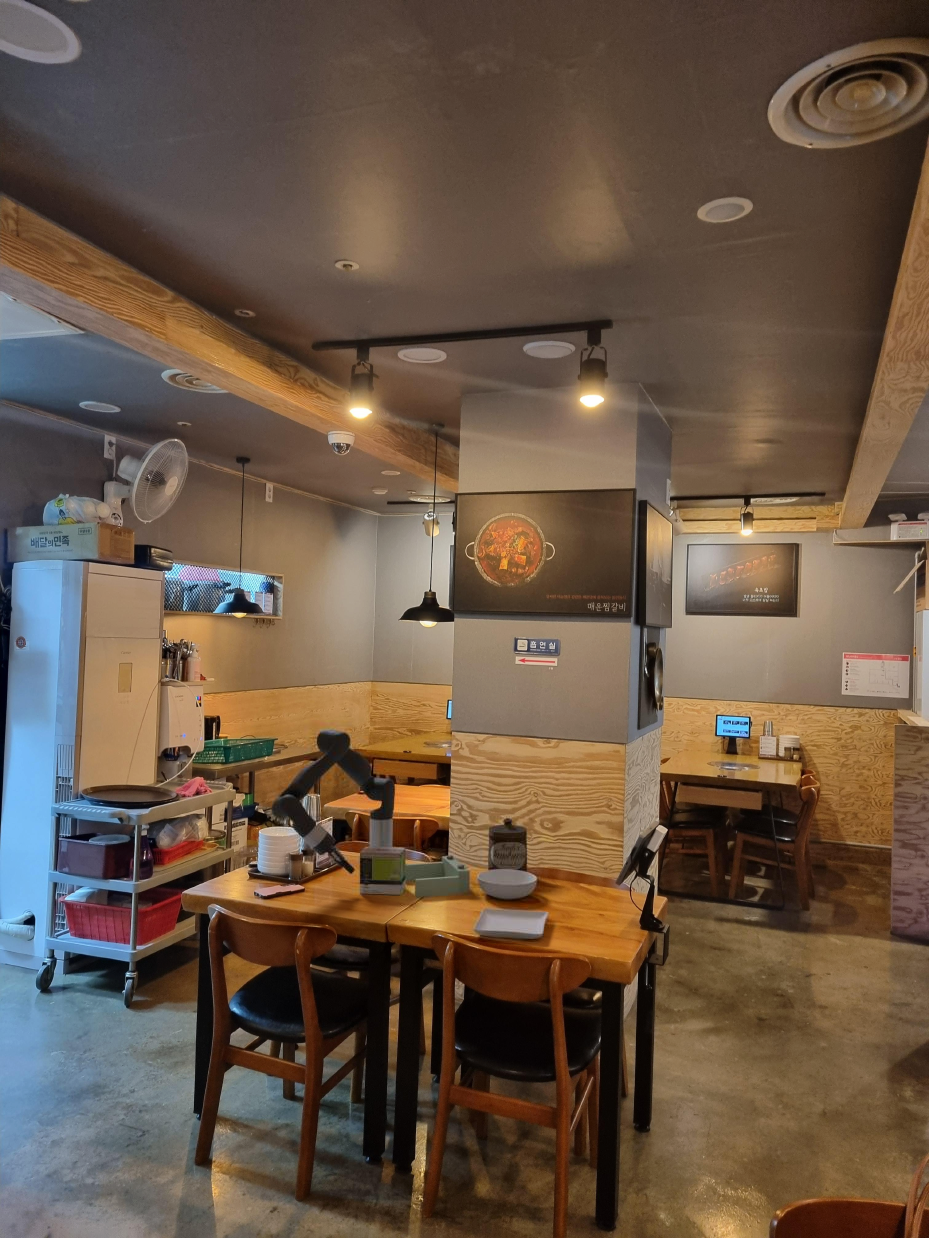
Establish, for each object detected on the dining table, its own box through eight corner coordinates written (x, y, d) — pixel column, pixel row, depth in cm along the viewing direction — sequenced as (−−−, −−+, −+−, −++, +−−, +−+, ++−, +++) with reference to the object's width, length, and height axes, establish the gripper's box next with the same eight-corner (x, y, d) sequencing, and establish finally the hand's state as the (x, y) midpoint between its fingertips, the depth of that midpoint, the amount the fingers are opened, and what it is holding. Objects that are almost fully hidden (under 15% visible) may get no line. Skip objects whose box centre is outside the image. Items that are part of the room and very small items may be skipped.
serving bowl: (533, 906, 286) (533, 886, 287) (472, 902, 290) (472, 882, 291) (540, 889, 307) (540, 870, 307) (483, 885, 311) (483, 866, 311)
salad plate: (472, 939, 254) (472, 928, 254) (483, 917, 275) (483, 906, 275) (542, 945, 251) (542, 933, 251) (548, 922, 271) (548, 911, 272)
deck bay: (401, 880, 316) (401, 856, 316) (451, 877, 322) (452, 853, 322) (415, 897, 295) (416, 871, 295) (469, 893, 301) (469, 867, 301)
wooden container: (490, 881, 316) (491, 822, 317) (486, 871, 331) (486, 814, 332) (529, 881, 317) (530, 822, 318) (523, 870, 332) (524, 814, 333)
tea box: (405, 887, 307) (406, 846, 307) (400, 895, 297) (401, 853, 297) (364, 886, 308) (365, 845, 309) (358, 894, 298) (359, 851, 299)
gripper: (328, 834, 291) (363, 868, 294) (323, 826, 304) (357, 858, 307) (313, 851, 289) (348, 884, 293) (308, 842, 302) (342, 874, 305)
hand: (352, 871), depth 300 cm, fingers closed
